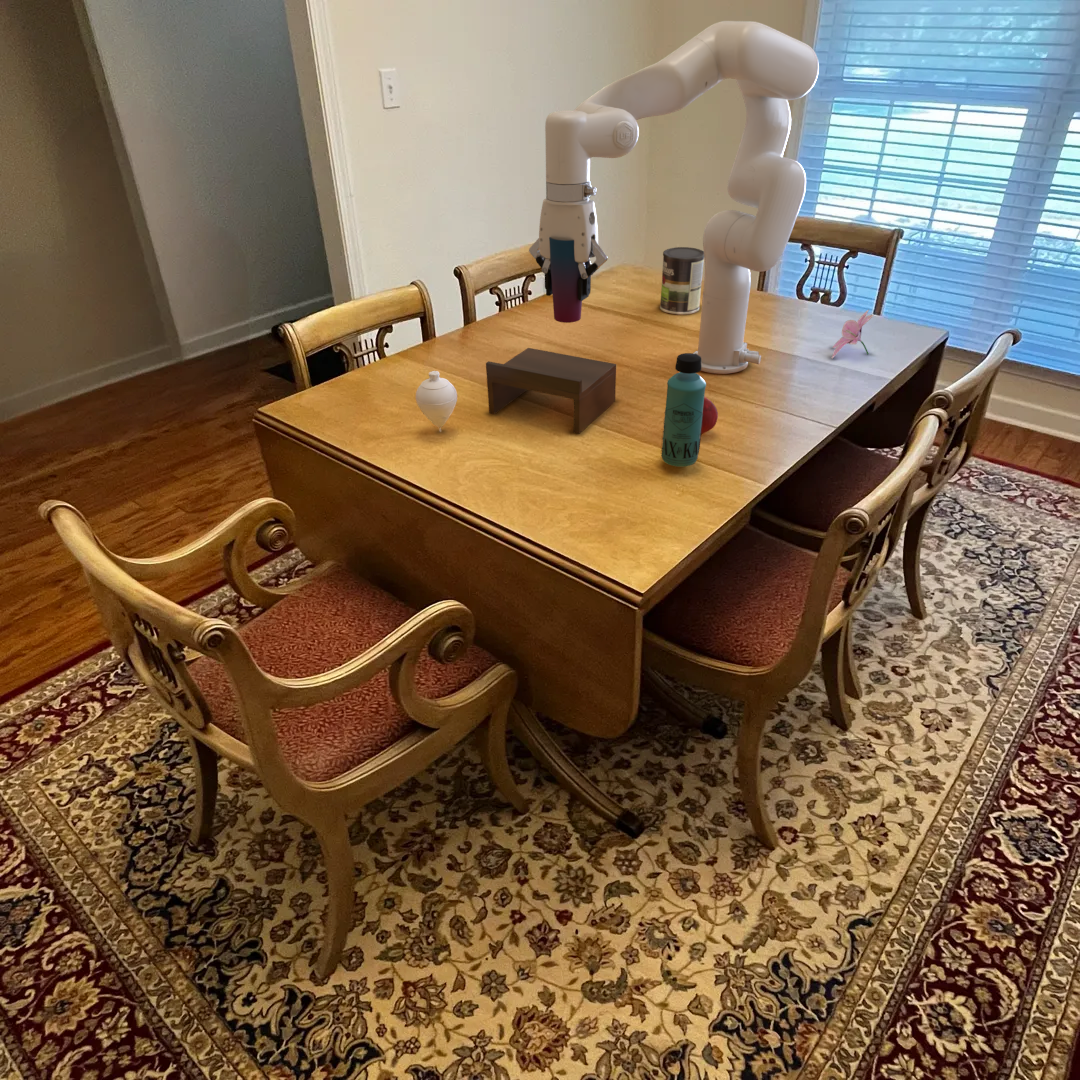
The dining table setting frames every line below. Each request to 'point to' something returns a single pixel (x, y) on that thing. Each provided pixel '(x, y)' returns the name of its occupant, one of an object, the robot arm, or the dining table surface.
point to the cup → (564, 281)
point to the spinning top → (436, 399)
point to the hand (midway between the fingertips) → (567, 295)
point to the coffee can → (681, 280)
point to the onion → (708, 416)
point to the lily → (852, 333)
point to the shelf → (554, 382)
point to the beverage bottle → (683, 412)
